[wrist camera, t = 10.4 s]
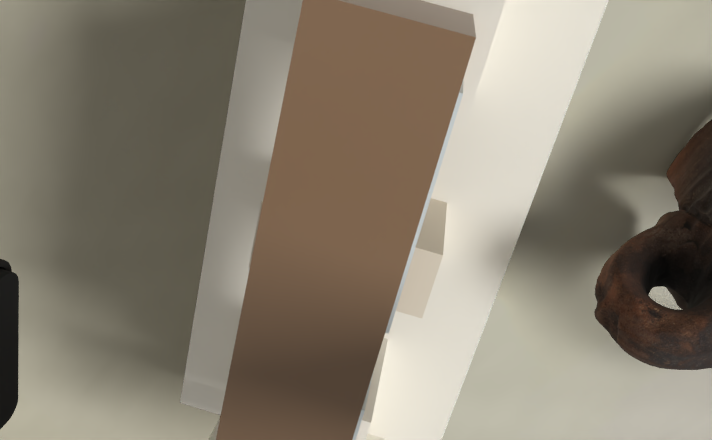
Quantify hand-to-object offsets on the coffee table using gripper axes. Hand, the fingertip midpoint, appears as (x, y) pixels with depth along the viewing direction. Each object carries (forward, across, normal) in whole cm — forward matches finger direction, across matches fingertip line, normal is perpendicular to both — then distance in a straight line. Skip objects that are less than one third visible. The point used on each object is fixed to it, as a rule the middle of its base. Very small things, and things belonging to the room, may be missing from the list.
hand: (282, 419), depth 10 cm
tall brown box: (+7, 0, +1) cm, 7 cm away
